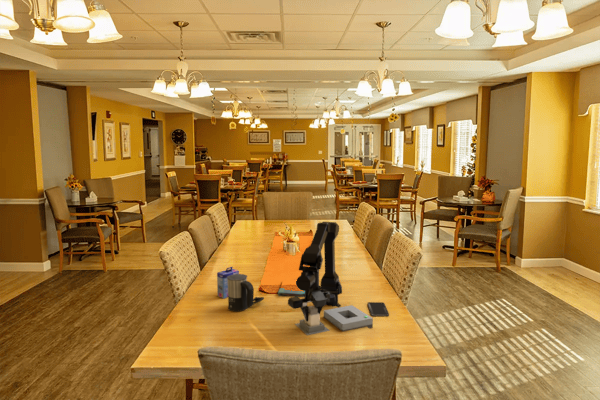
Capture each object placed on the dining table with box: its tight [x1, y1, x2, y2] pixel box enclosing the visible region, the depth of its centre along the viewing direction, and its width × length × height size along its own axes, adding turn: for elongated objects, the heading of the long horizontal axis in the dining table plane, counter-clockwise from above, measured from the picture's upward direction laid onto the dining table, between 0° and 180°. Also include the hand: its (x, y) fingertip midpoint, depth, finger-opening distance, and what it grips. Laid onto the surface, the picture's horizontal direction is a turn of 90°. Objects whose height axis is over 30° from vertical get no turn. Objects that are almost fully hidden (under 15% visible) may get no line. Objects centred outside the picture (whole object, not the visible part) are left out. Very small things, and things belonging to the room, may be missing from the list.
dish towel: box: [277, 287, 305, 298], centre depth 231 cm, size 17×23×2 cm
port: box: [323, 304, 374, 332], centre depth 188 cm, size 16×14×4 cm
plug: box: [303, 305, 321, 327], centre depth 181 cm, size 6×4×8 cm, turn 25°
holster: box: [294, 318, 330, 336], centre depth 182 cm, size 12×10×3 cm
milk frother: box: [227, 273, 265, 312], centre depth 207 cm, size 14×16×15 cm
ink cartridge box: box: [216, 266, 240, 300], centre depth 222 cm, size 10×6×14 cm, turn 137°
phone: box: [367, 301, 390, 318], centre depth 202 cm, size 8×1×15 cm
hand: (311, 320), depth 182 cm, fingers closed on plug, 4 cm apart
